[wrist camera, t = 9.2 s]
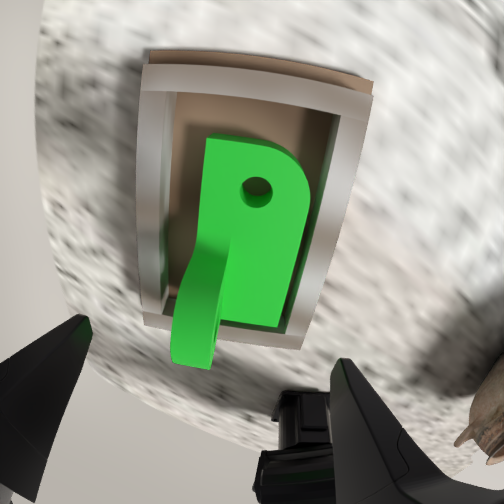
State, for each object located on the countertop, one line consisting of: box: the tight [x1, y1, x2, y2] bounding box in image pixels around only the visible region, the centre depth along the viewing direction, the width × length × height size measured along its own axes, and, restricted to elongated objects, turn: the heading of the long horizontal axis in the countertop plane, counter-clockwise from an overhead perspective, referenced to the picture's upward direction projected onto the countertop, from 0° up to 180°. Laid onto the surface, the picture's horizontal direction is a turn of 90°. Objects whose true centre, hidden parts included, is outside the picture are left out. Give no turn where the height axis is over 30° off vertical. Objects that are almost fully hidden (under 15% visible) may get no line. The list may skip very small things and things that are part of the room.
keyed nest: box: [136, 50, 373, 350], centre depth 19 cm, size 20×13×3 cm, turn 172°
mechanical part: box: [170, 133, 310, 370], centre depth 16 cm, size 12×6×8 cm, turn 171°
